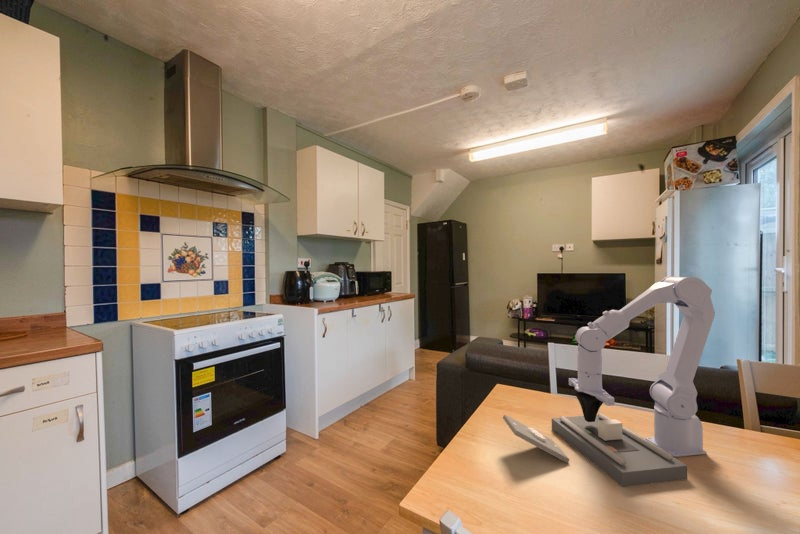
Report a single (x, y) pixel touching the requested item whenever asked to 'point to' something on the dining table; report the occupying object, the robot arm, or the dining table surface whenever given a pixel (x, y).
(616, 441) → the box
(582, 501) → the dining table surface
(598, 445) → the pair of cream rails
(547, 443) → the light switch
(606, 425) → the lever
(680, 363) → the robot arm
